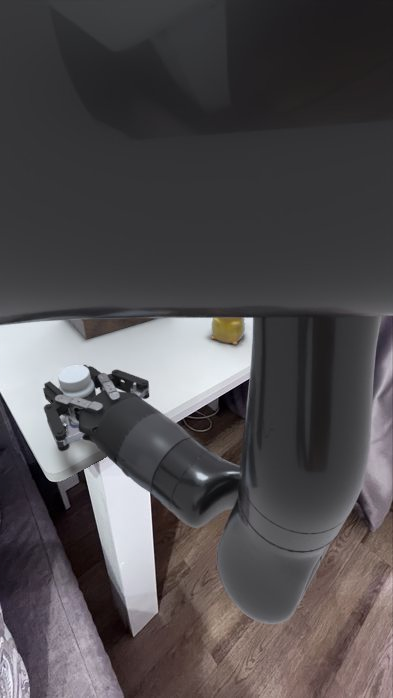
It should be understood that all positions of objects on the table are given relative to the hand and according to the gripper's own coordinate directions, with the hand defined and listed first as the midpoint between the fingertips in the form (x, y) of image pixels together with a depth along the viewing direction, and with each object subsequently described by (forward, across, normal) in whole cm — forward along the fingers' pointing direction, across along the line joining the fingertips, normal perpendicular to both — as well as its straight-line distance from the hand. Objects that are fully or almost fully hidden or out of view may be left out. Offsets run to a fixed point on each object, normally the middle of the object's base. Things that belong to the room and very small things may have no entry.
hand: (66, 379), depth 46 cm
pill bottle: (-3, 0, +6) cm, 7 cm away
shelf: (+20, -24, +6) cm, 32 cm away
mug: (-3, -37, +6) cm, 37 cm away
